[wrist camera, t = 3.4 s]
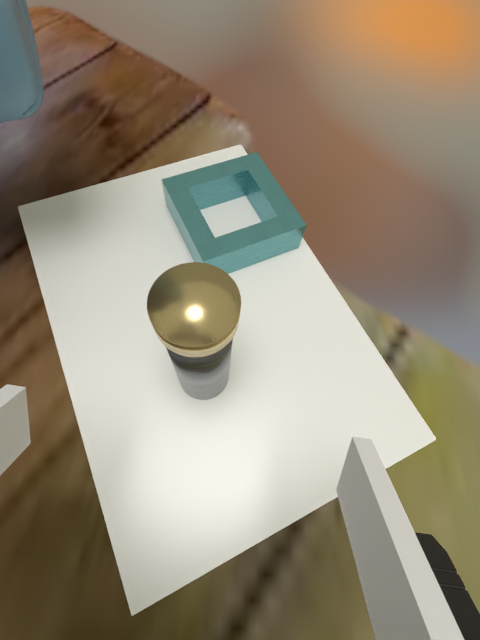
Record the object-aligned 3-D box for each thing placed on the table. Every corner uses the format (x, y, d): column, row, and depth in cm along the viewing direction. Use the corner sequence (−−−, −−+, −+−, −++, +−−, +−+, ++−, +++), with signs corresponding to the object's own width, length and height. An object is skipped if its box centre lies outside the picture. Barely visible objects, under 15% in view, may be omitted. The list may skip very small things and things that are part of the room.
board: (23, 214, 31) (17, 206, 30) (240, 152, 36) (240, 144, 36) (135, 610, 20) (131, 616, 19) (428, 440, 25) (436, 439, 24)
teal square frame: (166, 205, 32) (161, 179, 29) (253, 178, 34) (256, 152, 31) (204, 282, 28) (203, 261, 26) (298, 247, 30) (306, 225, 28)
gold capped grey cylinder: (168, 362, 25) (133, 280, 15) (218, 341, 26) (218, 250, 16) (188, 412, 24) (166, 360, 13) (240, 388, 25) (257, 323, 14)
